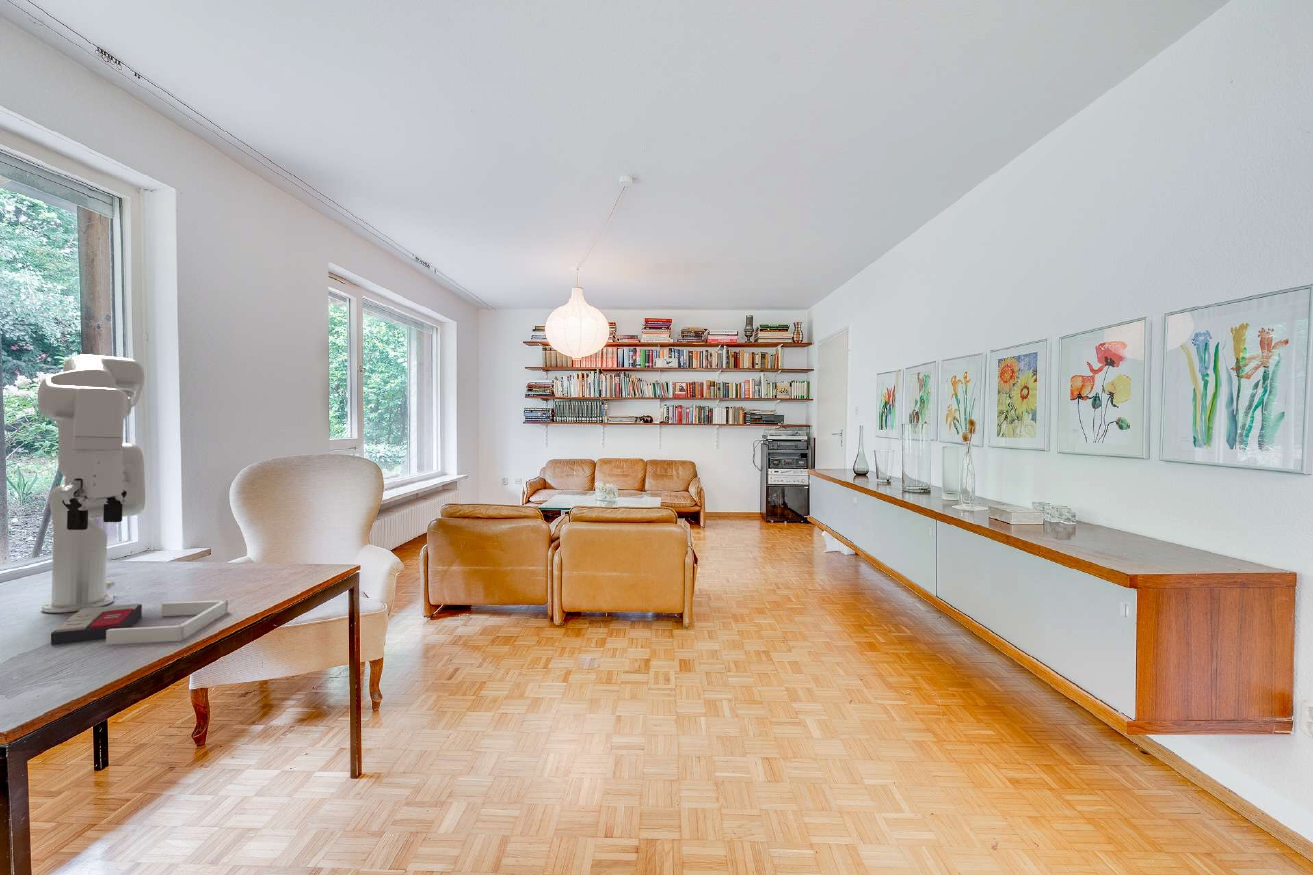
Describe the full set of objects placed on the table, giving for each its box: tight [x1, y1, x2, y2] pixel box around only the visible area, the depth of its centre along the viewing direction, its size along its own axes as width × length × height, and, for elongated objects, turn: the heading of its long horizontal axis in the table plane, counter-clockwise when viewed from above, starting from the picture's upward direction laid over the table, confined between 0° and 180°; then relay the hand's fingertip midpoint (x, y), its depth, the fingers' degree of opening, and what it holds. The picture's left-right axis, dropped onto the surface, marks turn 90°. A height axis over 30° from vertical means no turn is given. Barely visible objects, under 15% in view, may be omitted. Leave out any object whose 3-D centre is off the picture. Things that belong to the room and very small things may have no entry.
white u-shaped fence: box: [105, 599, 229, 645], centre depth 128 cm, size 20×14×3 cm
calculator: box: [50, 603, 143, 646], centre depth 125 cm, size 11×4×15 cm
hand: (95, 525), depth 117 cm, fingers open, 9 cm apart
